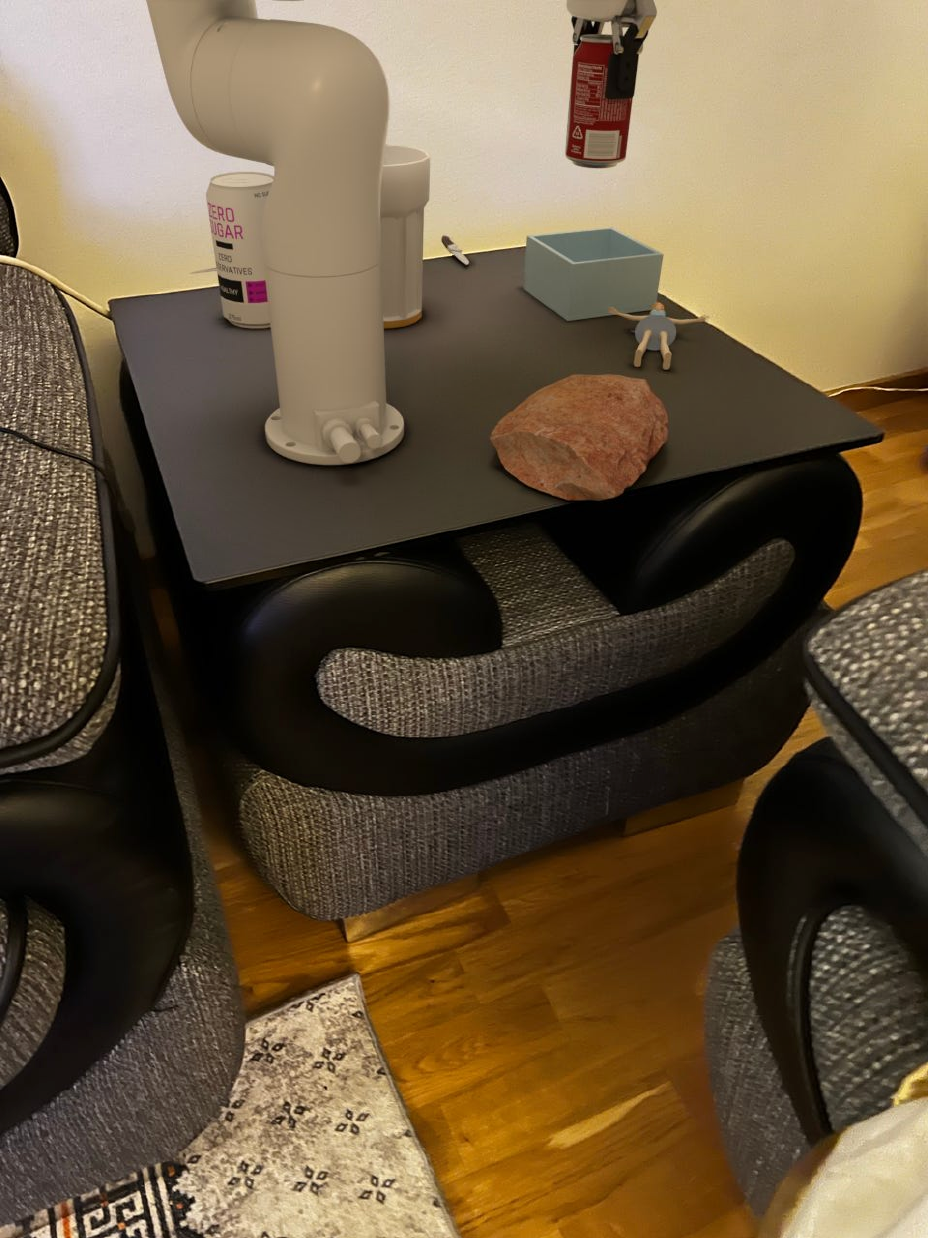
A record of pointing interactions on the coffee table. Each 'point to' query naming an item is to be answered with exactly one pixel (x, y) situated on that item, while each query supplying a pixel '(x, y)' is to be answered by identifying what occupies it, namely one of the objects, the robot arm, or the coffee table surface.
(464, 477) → the coffee table surface
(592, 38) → the soda can
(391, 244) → the cup
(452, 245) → the pocket knife
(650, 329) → the fairy figurine
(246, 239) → the supplement can
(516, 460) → the stone
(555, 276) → the case
